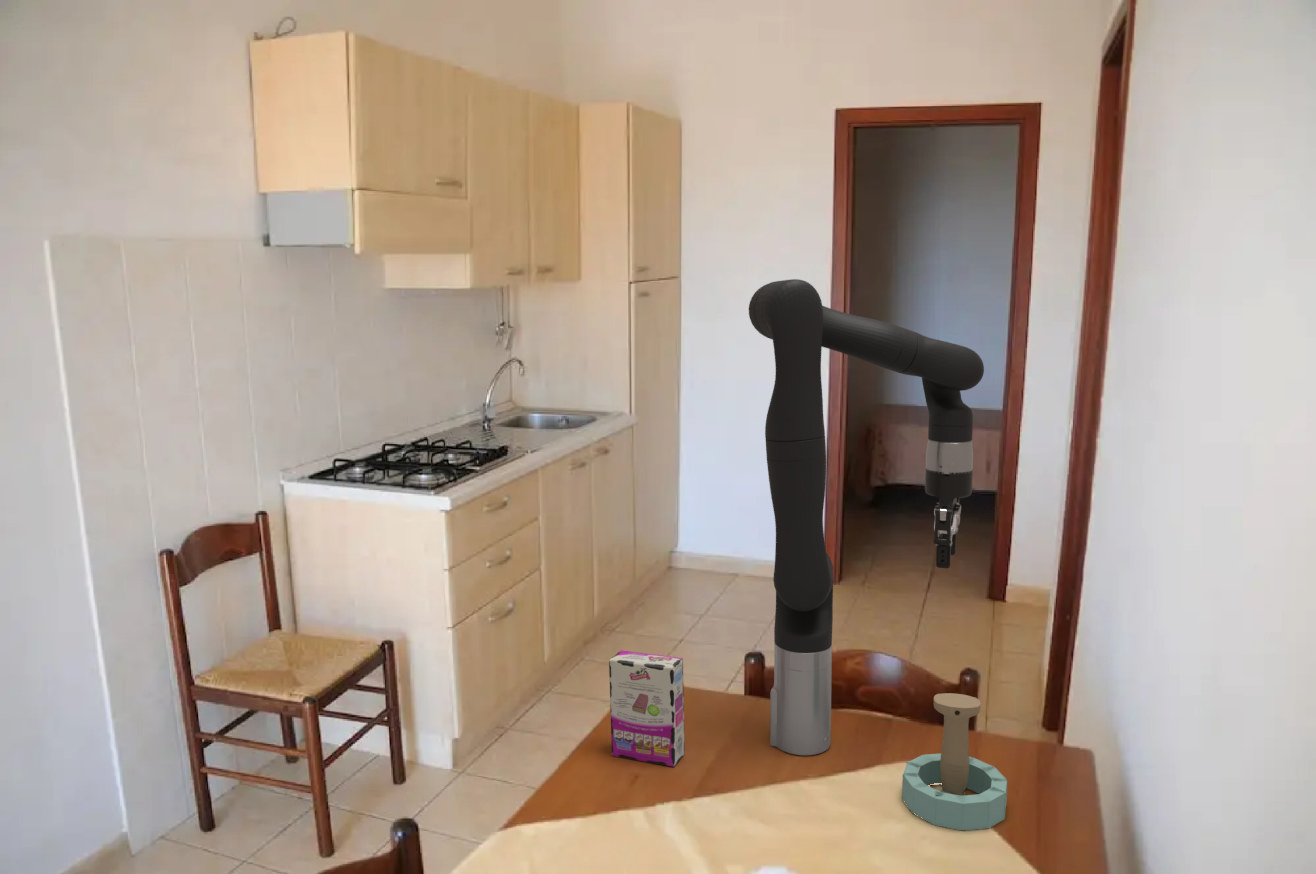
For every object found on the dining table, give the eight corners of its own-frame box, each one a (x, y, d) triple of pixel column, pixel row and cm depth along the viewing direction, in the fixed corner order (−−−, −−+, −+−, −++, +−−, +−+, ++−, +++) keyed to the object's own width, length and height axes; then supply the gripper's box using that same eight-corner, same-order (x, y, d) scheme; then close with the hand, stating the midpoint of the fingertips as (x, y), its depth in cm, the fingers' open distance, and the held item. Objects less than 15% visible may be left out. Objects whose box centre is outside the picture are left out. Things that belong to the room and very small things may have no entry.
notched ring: (896, 818, 133) (896, 791, 133) (910, 771, 146) (911, 747, 145) (1002, 839, 128) (1003, 811, 127) (1008, 788, 141) (1009, 763, 140)
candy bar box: (685, 754, 153) (685, 657, 150) (674, 768, 148) (673, 668, 146) (622, 742, 157) (620, 648, 154) (609, 756, 152) (607, 659, 150)
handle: (977, 809, 135) (981, 710, 133) (930, 803, 137) (933, 705, 135) (975, 792, 140) (979, 696, 138) (930, 786, 141) (933, 691, 139)
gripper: (931, 458, 166) (928, 548, 168) (920, 472, 153) (917, 570, 155) (976, 460, 163) (972, 552, 165) (968, 475, 150) (965, 574, 152)
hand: (946, 560), depth 160 cm, fingers open, 8 cm apart
